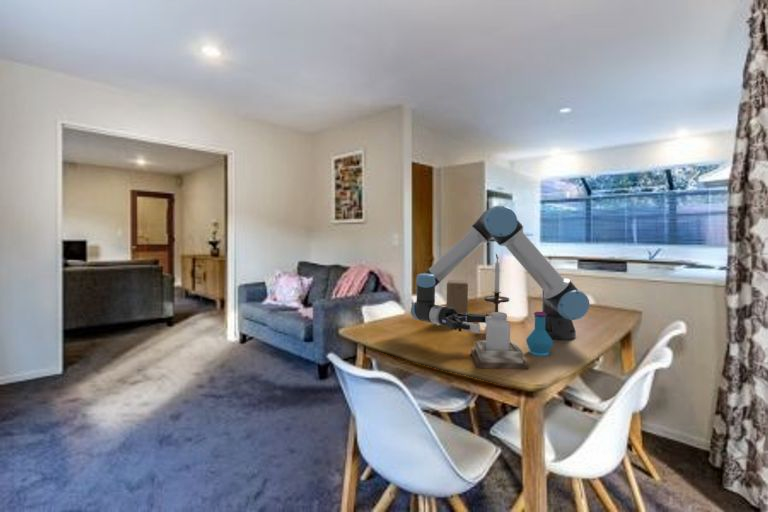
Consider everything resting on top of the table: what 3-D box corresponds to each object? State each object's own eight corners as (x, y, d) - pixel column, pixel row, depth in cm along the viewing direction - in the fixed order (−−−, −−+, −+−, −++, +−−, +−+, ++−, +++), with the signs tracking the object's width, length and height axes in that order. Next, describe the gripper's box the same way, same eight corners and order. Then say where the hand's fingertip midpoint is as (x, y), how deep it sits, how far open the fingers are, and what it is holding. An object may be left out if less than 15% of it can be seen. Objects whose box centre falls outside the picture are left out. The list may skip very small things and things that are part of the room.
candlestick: (485, 331, 175) (486, 253, 173) (483, 326, 186) (484, 252, 183) (510, 332, 173) (511, 253, 171) (506, 326, 184) (508, 252, 182)
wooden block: (467, 324, 189) (467, 283, 188) (446, 323, 191) (446, 282, 190) (467, 319, 199) (467, 280, 197) (447, 319, 201) (447, 280, 199)
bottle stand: (515, 353, 144) (515, 340, 143) (528, 369, 128) (528, 354, 127) (471, 352, 145) (471, 339, 145) (478, 367, 129) (478, 352, 129)
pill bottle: (512, 360, 132) (513, 315, 131) (488, 359, 132) (489, 315, 131) (505, 352, 140) (506, 311, 139) (483, 352, 140) (483, 310, 139)
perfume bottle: (550, 358, 139) (551, 316, 138) (523, 354, 143) (524, 313, 142) (554, 351, 146) (555, 311, 145) (528, 347, 151) (529, 309, 150)
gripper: (463, 320, 162) (509, 330, 146) (421, 330, 146) (468, 343, 130) (463, 302, 162) (510, 310, 146) (421, 310, 145) (468, 320, 129)
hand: (490, 325), depth 138 cm, fingers open, 13 cm apart
